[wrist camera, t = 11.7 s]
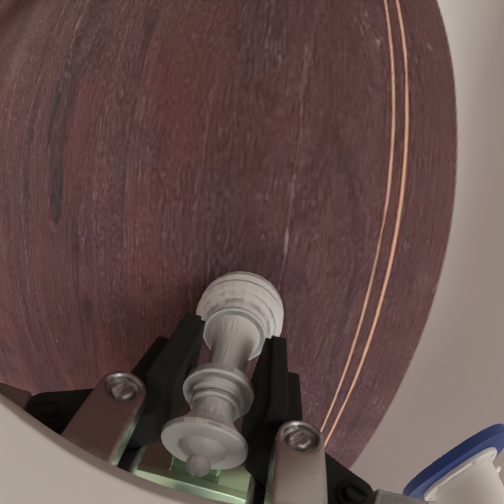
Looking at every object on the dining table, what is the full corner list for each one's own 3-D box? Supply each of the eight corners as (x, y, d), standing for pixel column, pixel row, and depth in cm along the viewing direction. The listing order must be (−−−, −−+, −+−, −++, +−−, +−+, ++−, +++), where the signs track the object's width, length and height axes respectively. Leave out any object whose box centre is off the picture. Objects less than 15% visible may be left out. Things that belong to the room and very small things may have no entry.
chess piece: (283, 269, 14) (293, 430, 4) (283, 343, 15) (284, 508, 5) (198, 270, 14) (85, 400, 4) (206, 342, 15) (143, 490, 5)
